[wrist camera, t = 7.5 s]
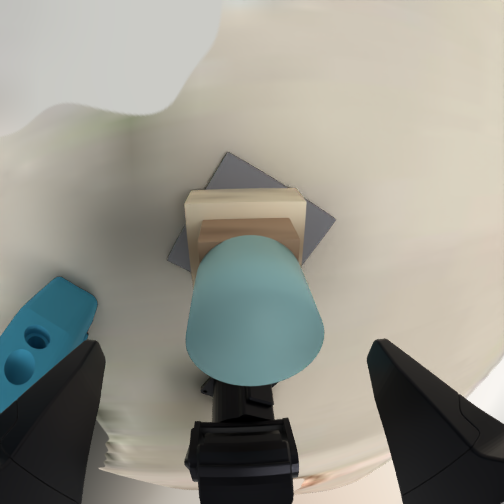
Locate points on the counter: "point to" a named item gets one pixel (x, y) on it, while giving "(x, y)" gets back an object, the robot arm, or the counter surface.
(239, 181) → the mat
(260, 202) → the tower base
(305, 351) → the light blue cylinder
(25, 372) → the block
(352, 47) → the counter surface
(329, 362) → the counter surface
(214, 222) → the tower block
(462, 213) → the counter surface
